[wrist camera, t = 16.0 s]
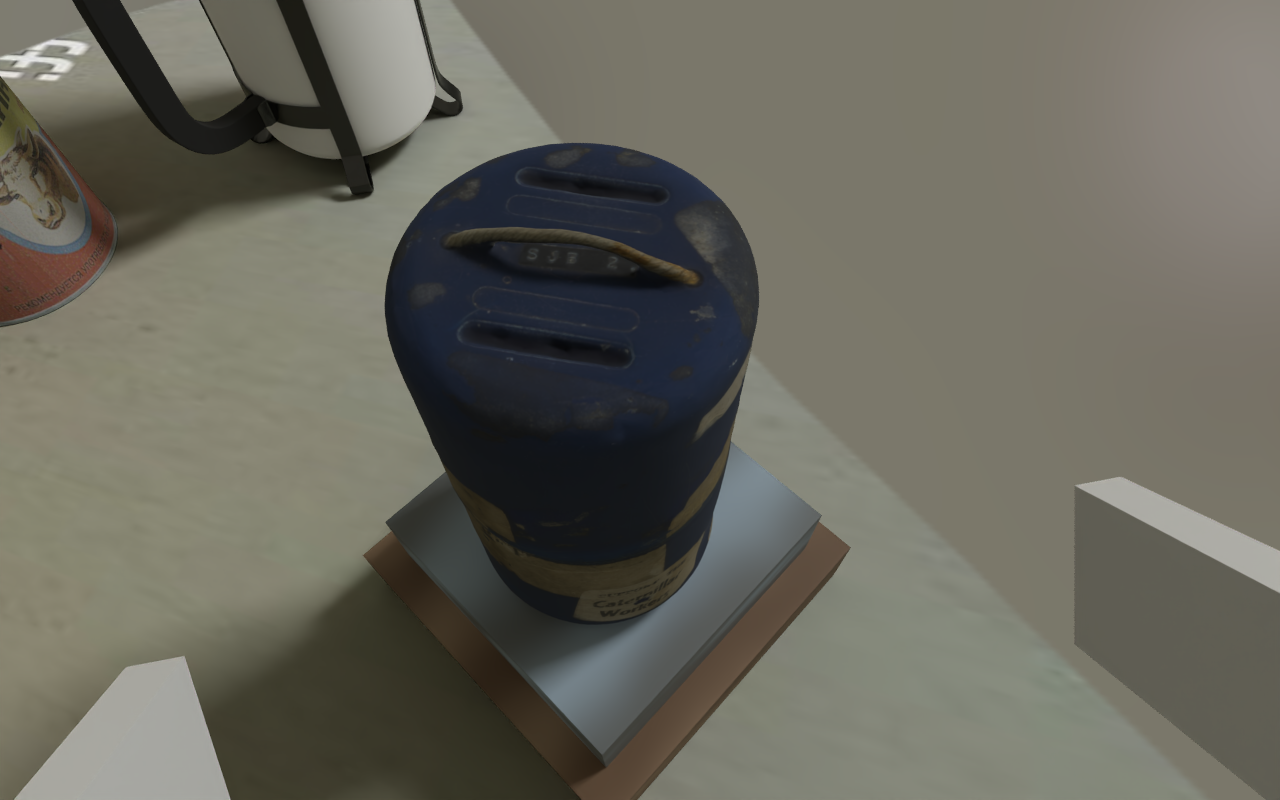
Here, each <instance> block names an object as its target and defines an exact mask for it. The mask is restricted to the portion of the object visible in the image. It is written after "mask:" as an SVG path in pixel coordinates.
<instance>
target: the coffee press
mask: <svg viewBox="0 0 1280 800" xmlns="http://www.w3.org/2000/svg"><path fill="white" fill-rule="evenodd" d="M72 1H73V2H74V4H75V6H76V8H77V9H78V11H79V13H80V14H81V16H82V18H83V19H84V21H85V22H86V24H87V26H88V27H89V29H90V30H91V32H92V34H93V35H94V37H95V38H96V40H97V42H98V43H99V45H100V46H101V48H102V49H103V51H104V52H105V54H106V56H107V57H108V59H109V60H110V62H111V63H112V65H113V66H114V68H115V69H116V71H117V72H118V74H119V76H120V77H121V79H122V80H123V82H124V83H125V85H126V86H127V88H128V89H129V91H130V92H131V94H132V95H133V97H134V98H135V100H136V101H137V103H138V104H139V105H140V107H141V108H142V110H143V111H144V112H145V114H146V115H147V116H148V118H149V119H150V120H151V122H152V123H153V124H154V125H155V126H156V127H157V128H158V129H159V130H160V131H161V132H162V133H163V134H164V135H165V136H167V137H168V138H169V139H171V140H172V141H174V142H176V143H178V144H179V145H181V146H183V147H185V148H187V149H189V150H191V151H194V152H197V153H202V154H219V153H223V152H226V151H229V150H232V149H234V148H236V147H238V146H240V145H241V144H243V143H245V142H246V141H248V140H250V139H251V140H252V141H254V142H256V143H267V142H269V141H270V140H271V139H272V138H273V136H274V137H275V138H276V139H278V140H279V141H280V142H282V143H283V144H285V145H286V146H288V147H290V148H292V149H294V150H296V151H298V152H301V153H303V154H306V155H310V156H314V157H319V158H327V159H342V162H343V165H344V169H345V172H346V176H347V180H348V184H349V187H350V190H351V192H352V194H360V193H366V192H372V191H374V187H373V181H372V176H371V172H370V167H369V162H368V155H370V154H373V153H376V152H379V151H382V150H384V149H387V148H389V147H391V146H393V145H395V144H397V143H398V142H400V141H402V140H403V139H405V138H406V137H407V136H409V135H410V134H411V133H412V132H413V131H414V130H416V129H417V128H418V126H419V125H420V124H421V123H422V122H423V120H424V119H425V118H426V116H427V114H428V113H429V111H430V109H431V107H432V108H435V109H437V110H439V111H440V112H442V113H444V114H446V115H449V116H455V115H458V114H459V113H460V112H461V111H462V109H463V105H462V99H461V93H460V91H459V89H458V88H456V87H455V86H454V85H453V84H451V83H450V82H449V81H448V80H446V79H445V78H444V77H443V76H442V75H441V74H440V72H439V70H438V68H437V65H436V62H435V58H434V55H433V51H432V47H431V43H430V39H429V35H428V31H427V27H426V23H425V19H424V15H423V11H422V7H421V3H420V0H199V1H200V3H201V5H202V7H203V9H204V11H205V13H206V15H207V17H208V19H209V21H210V23H211V25H212V27H213V29H214V31H215V33H216V35H217V37H218V39H219V41H220V43H221V45H222V47H223V49H224V51H225V53H226V55H227V57H228V59H229V61H230V63H231V65H232V68H233V71H234V73H235V76H236V78H237V80H238V82H239V83H240V85H241V87H242V89H243V91H244V93H245V95H246V98H245V100H244V102H242V103H241V104H240V105H238V106H237V107H235V108H234V109H233V110H231V111H230V112H228V113H227V114H225V115H223V116H222V117H220V118H218V119H216V120H213V121H209V122H202V121H197V120H194V119H193V118H192V117H191V116H190V115H189V114H188V112H187V111H186V110H185V108H184V107H183V105H182V104H181V102H180V100H179V99H178V97H177V96H176V94H175V92H174V91H173V89H172V87H171V86H170V84H169V82H168V81H167V79H166V77H165V76H164V74H163V72H162V71H161V69H160V67H159V65H158V64H157V62H156V60H155V59H154V57H153V55H152V54H151V52H150V50H149V49H148V47H147V45H146V44H145V42H144V40H143V39H142V37H141V35H140V34H139V32H138V30H137V28H136V27H135V25H134V23H133V22H132V20H131V18H130V17H129V15H128V13H127V12H126V10H125V8H124V6H123V5H122V3H121V1H120V0H72ZM416 2H417V4H416ZM417 6H418V8H417ZM418 10H419V12H418ZM419 14H420V16H419ZM420 18H421V20H420ZM421 22H422V24H421ZM422 26H423V27H422ZM423 29H424V31H423ZM424 33H425V35H424ZM425 37H426V39H425ZM426 41H427V43H426ZM427 45H428V47H427ZM428 49H429V51H428ZM429 53H430V55H429ZM430 57H431V59H430ZM431 61H432V63H431ZM432 64H433V68H434V72H435V75H436V78H437V81H438V83H439V85H440V86H441V88H442V89H443V90H444V91H446V92H447V93H448V94H449V95H450V96H452V97H453V98H454V99H456V101H454V102H446V101H444V100H442V99H440V98H439V97H437V96H435V89H436V85H435V77H434V72H433V68H432ZM265 128H267V129H265Z"/></svg>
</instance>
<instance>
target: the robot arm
mask: <svg viewBox="0 0 1280 800" xmlns="http://www.w3.org/2000/svg"><path fill="white" fill-rule="evenodd" d="M1075 645H1076V646H1077V647H1079V648H1080V649H1081V650H1082V651H1084V652H1085V653H1086V654H1087V655H1089V656H1090V657H1091V658H1092V659H1093V660H1095V661H1096V662H1097V663H1098V664H1100V665H1101V666H1102V667H1103V668H1105V669H1106V670H1107V671H1108V672H1109V673H1111V674H1112V675H1113V676H1114V677H1115V678H1117V679H1118V680H1119V681H1121V682H1122V683H1123V684H1124V685H1125V686H1127V687H1128V688H1129V689H1130V690H1131V691H1133V692H1134V693H1135V694H1136V695H1138V696H1139V697H1140V698H1142V699H1143V700H1144V701H1145V702H1146V703H1147V704H1149V705H1150V706H1151V707H1152V708H1154V709H1155V710H1156V711H1157V712H1159V713H1160V714H1161V715H1162V716H1164V717H1165V718H1166V719H1167V720H1169V721H1170V722H1171V723H1172V724H1173V725H1175V726H1176V727H1177V728H1178V729H1179V730H1181V731H1182V732H1183V733H1184V734H1186V735H1187V736H1188V737H1189V738H1191V739H1192V740H1193V741H1194V742H1195V743H1197V744H1198V745H1199V746H1200V747H1202V748H1203V749H1204V750H1206V751H1207V752H1208V753H1209V754H1211V756H1213V757H1214V758H1215V759H1216V760H1218V761H1219V762H1220V763H1221V764H1223V765H1224V766H1225V767H1226V768H1227V769H1229V770H1230V771H1231V772H1232V773H1234V774H1235V775H1236V776H1237V777H1239V778H1240V779H1241V780H1242V781H1243V782H1245V783H1246V784H1247V785H1248V786H1250V787H1251V788H1252V789H1253V790H1255V791H1256V792H1257V793H1258V794H1259V795H1261V796H1262V797H1263V798H1265V799H1266V800H1280V551H1278V550H1276V549H1274V548H1272V547H1269V546H1268V545H1266V544H1263V543H1261V542H1259V541H1257V540H1255V539H1253V538H1250V537H1248V536H1246V535H1244V534H1242V533H1240V532H1238V531H1236V530H1233V529H1231V528H1229V527H1227V526H1225V525H1223V524H1221V523H1219V522H1216V521H1214V520H1212V519H1210V518H1208V517H1206V516H1204V515H1201V514H1199V513H1197V512H1195V511H1193V510H1191V509H1189V508H1186V507H1184V506H1182V505H1180V504H1178V503H1176V502H1174V501H1172V500H1170V499H1167V498H1165V497H1163V496H1161V495H1159V494H1157V493H1155V492H1152V491H1150V490H1148V489H1146V488H1144V487H1142V486H1140V485H1138V484H1135V483H1133V482H1131V481H1129V480H1127V479H1125V478H1123V477H1117V478H1112V479H1107V480H1102V481H1096V482H1091V483H1086V484H1080V485H1075ZM14 800H231V799H230V796H229V793H228V790H227V787H226V784H225V781H224V778H223V774H222V771H221V768H220V765H219V762H218V759H217V756H216V753H215V750H214V747H213V743H212V740H211V737H210V734H209V731H208V728H207V725H206V722H205V719H204V716H203V712H202V709H201V706H200V703H199V700H198V697H197V694H196V691H195V688H194V685H193V681H192V678H191V675H190V672H189V669H188V666H187V663H186V660H185V657H184V656H182V657H176V658H171V659H166V660H161V661H156V662H150V663H145V664H140V665H135V666H129V667H126V668H125V669H124V670H123V671H122V672H121V674H120V675H119V676H118V677H117V678H116V679H115V681H114V682H113V683H112V684H111V685H110V687H109V688H108V689H107V690H106V691H105V692H104V694H103V695H102V696H101V697H100V698H99V700H98V701H97V702H96V703H95V704H94V705H93V707H92V708H91V709H90V710H89V711H88V713H87V714H86V715H85V716H84V717H83V718H82V720H81V721H80V722H79V723H78V724H77V726H76V727H75V728H74V729H73V730H72V731H71V733H70V734H69V735H68V736H67V737H66V739H65V740H64V741H63V742H62V743H61V744H60V746H59V747H58V748H57V749H56V750H55V752H54V753H53V754H52V755H51V756H50V757H49V759H48V760H47V761H46V762H45V763H44V765H43V766H42V767H41V768H40V769H39V770H38V772H37V773H36V774H35V775H34V776H33V778H32V779H31V780H30V781H29V782H28V783H27V785H26V786H25V787H24V788H23V789H22V791H21V792H20V793H19V794H18V795H17V796H16V798H15V799H14Z"/></svg>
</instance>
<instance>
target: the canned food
mask: <svg viewBox="0 0 1280 800" xmlns="http://www.w3.org/2000/svg"><path fill="white" fill-rule="evenodd" d="M117 236H118V233H117V225H116V221H115V218H114V217H113V215H112V213H111V212H110V210H109V209H108V208H107V207H106V206H105V205H104V204H103V203H102V202H101V201H100V200H99V199H98V198H97V196H96V195H95V194H94V193H93V191H92V190H91V189H90V188H89V186H88V185H87V184H86V183H85V181H84V180H83V179H82V178H81V176H80V175H79V174H78V173H77V171H76V170H75V169H74V168H73V166H72V165H71V164H70V163H69V161H68V160H67V159H66V158H65V156H64V155H63V154H62V153H61V151H60V150H59V149H58V148H57V146H56V145H55V144H54V143H53V141H52V140H51V139H50V138H49V136H48V135H47V134H46V133H45V131H44V130H43V129H42V128H41V126H40V125H39V124H38V123H37V121H36V120H35V119H34V118H33V116H32V115H31V114H30V113H29V111H28V110H27V109H26V108H25V106H24V105H23V104H22V103H21V101H20V100H19V99H18V98H17V96H16V95H15V94H14V93H13V91H12V90H11V89H10V88H9V86H8V85H7V84H6V83H5V81H4V80H3V79H2V78H1V76H0V326H5V325H12V324H17V323H21V322H25V321H29V320H32V319H35V318H38V317H40V316H43V315H45V314H48V313H50V312H52V311H54V310H56V309H58V308H60V307H62V306H64V305H65V304H67V303H68V302H70V301H72V300H73V299H75V298H76V297H77V296H79V295H80V294H81V293H83V292H84V291H85V290H86V289H87V288H88V287H89V286H91V285H92V284H93V283H94V282H95V281H96V279H97V278H98V277H99V276H100V275H101V274H102V272H103V271H104V270H105V268H106V267H107V265H108V263H109V262H110V260H111V258H112V256H113V253H114V251H115V248H116V244H117Z"/></svg>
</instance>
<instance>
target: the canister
mask: <svg viewBox="0 0 1280 800" xmlns="http://www.w3.org/2000/svg"><path fill="white" fill-rule="evenodd" d="M758 307H759V287H758V275H757V270H756V265H755V261H754V257H753V254H752V251H751V248H750V245H749V243H748V240H747V238H746V236H745V234H744V232H743V230H742V228H741V226H740V224H739V223H738V221H737V220H736V218H735V217H734V215H733V214H732V212H731V211H730V209H729V208H728V207H727V206H726V205H725V203H724V202H723V201H722V200H721V199H720V198H719V197H718V196H717V195H715V193H714V192H712V191H711V190H710V189H709V188H708V187H707V186H705V185H704V184H703V183H702V182H701V181H699V180H698V179H697V178H695V177H694V176H692V175H691V174H689V173H687V172H686V171H684V170H682V169H681V168H678V167H677V166H675V165H673V164H671V163H669V162H667V161H665V160H662V159H660V158H657V157H654V156H652V155H649V154H645V153H642V152H639V151H635V150H631V149H627V148H622V147H618V146H611V145H603V144H593V143H592V144H591V143H564V144H549V145H544V146H538V147H533V148H528V149H524V150H520V151H516V152H513V153H509V154H506V155H503V156H500V157H497V158H494V159H492V160H490V161H488V162H485V163H483V164H481V165H479V166H477V167H475V168H473V169H472V170H470V171H468V172H466V173H465V174H463V175H462V176H460V177H458V178H457V179H455V180H454V181H452V182H451V183H449V184H448V185H446V186H445V187H443V188H442V189H441V190H440V191H439V192H437V193H436V194H435V195H434V196H433V197H432V198H431V199H430V201H429V202H428V203H427V204H426V205H425V206H424V207H423V208H422V209H421V210H420V211H419V213H418V214H417V216H416V217H415V218H414V220H413V221H412V222H411V223H410V225H409V227H408V228H407V230H406V231H405V233H404V235H403V237H402V238H401V240H400V242H399V245H398V247H397V249H396V251H395V253H394V256H393V259H392V262H391V266H390V271H389V275H388V279H387V284H386V294H385V317H386V325H387V332H388V337H389V341H390V344H391V347H392V351H393V354H394V357H395V359H396V362H397V364H398V367H399V369H400V371H401V374H402V376H403V379H404V381H405V383H406V385H407V387H408V389H409V391H410V394H411V396H412V398H413V400H414V402H415V404H416V406H417V409H418V411H419V413H420V415H421V417H422V420H423V422H424V424H425V426H426V428H427V431H428V433H429V435H430V438H431V441H432V444H433V446H434V447H435V449H436V451H437V453H438V455H439V457H440V459H441V461H442V464H443V466H444V468H445V471H446V473H447V475H448V477H449V480H450V482H451V484H452V486H453V488H454V490H455V492H456V493H457V495H458V497H459V498H460V500H461V501H462V503H463V504H464V506H465V508H466V511H467V513H468V515H469V517H470V519H471V522H472V524H473V527H474V529H475V531H476V532H477V534H478V536H479V538H480V540H481V542H482V544H483V547H484V549H485V551H486V553H487V555H488V557H489V559H490V561H491V563H492V565H493V567H494V569H495V570H496V572H497V573H498V575H499V576H500V578H501V579H502V580H503V582H504V583H505V584H506V585H507V586H508V588H509V589H510V590H511V591H512V592H513V593H514V594H515V595H517V596H518V597H519V598H520V599H521V600H523V601H524V602H525V603H527V604H528V605H529V606H531V607H533V608H535V609H536V610H538V611H540V612H542V613H544V614H546V615H548V616H551V617H554V618H557V619H559V620H563V621H567V622H572V623H577V624H586V625H601V624H612V623H618V622H622V621H626V620H630V619H633V618H636V617H638V616H641V615H643V614H645V613H647V612H649V611H651V610H653V609H655V608H657V607H658V606H660V605H661V604H663V603H664V602H666V601H667V600H668V599H669V598H671V597H672V596H673V595H674V594H675V593H677V592H678V591H679V590H680V589H681V588H682V587H683V585H684V584H685V583H686V582H687V581H688V579H689V578H690V577H691V576H692V574H693V573H694V571H695V570H696V568H697V567H698V565H699V563H700V561H701V559H702V557H703V554H704V552H705V550H706V547H707V544H708V541H709V538H710V534H711V530H712V523H713V512H714V509H715V506H716V503H717V500H718V496H719V493H720V489H721V485H722V482H723V478H724V474H725V470H726V465H727V461H728V457H729V451H730V444H731V435H732V432H733V428H734V423H735V418H736V414H737V410H738V406H739V401H740V395H741V391H742V387H743V382H744V378H745V374H746V370H747V366H748V362H749V357H750V352H751V347H752V341H753V336H754V332H755V328H756V323H757V315H758Z"/></svg>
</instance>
